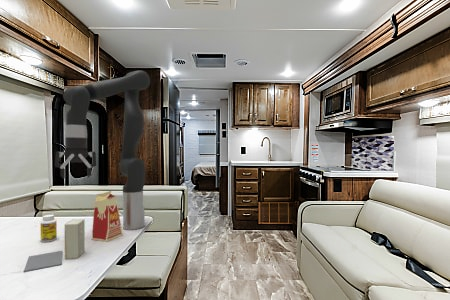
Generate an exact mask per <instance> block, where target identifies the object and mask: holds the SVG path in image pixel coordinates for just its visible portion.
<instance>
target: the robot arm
mask: <svg viewBox="0 0 450 300" xmlns="http://www.w3.org/2000/svg"><path fill="white" fill-rule="evenodd" d="M150 84H151V78H150V75H149V74H148V72H146V71H144V70H135V71H134V70H133V71H130V72H128V73H126V75H125V76H123V77H116V78H111V79H103V80H100V81H99V80H98V81H94V82H91V83H88V84H85V85H76V86H71V87H68V88H66V89H65V91H64V92H63V93H62V94H63V95H62V97H63V100H64V101H65V103H67V104H68V105H70V109H69V110H67V112H66V116H65V117H66V118H65V121H66V125H65V135H64V137H65V142H64V143H65V145H64V146H65V148H64V151H56V152H55V158H54V159H55V160H54V167H55V168H58V169H59V170H60V177H61V178H62V179H66V169H65V167H66V166H67V165H68V164H69V163H84V164H85V166H86V167H87V169H86V173H87V175H86V178H90V177H91V176H92V168H95V167H97V157H96V156H97V155H96V151H89V152H88V129H87V128H88V127H87V114H88V110H89V108H90V102H91V101H94V100H100V99H104V98H109V97H112V96H115V95H117V94H120V93H124V115H123V125H122V126H123V128H122V129H123V133H122V148H121V154H120V161H119V172H120V173H121V175H122V176H123V177H127V179H126V183H125V184H124V185H123V186H122V227H123V229H124V230H131V231H133V230H138V229H141V228H145V226H146V224H145V221H146V219H145V217H146V216H145V206H144V186H145V183H146V182H145V181H146V164H145V162H144V161H143V160H142V159H141V158H139V157H136V156H137V147H138V144H139V143H140V141H141V138H142V135H143V134H144V133H143V132H144V127H145V125H144V123H145V119H144V118H145V117H144V114H143V111H142V108H141V106H140V104H139V95H140V94H139V93H140V91H142V90H143V91H144V90H147V88H149V86H150ZM63 155H64V157H65V158H66V160H65V161H64V162H63V163H62V164H60V158H62V157H63ZM88 156H89V157H90V158H92V160H91V161H92V163H91V164H90V163H89V161H88V160H87V159H86V158H87V157H88Z"/></svg>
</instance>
